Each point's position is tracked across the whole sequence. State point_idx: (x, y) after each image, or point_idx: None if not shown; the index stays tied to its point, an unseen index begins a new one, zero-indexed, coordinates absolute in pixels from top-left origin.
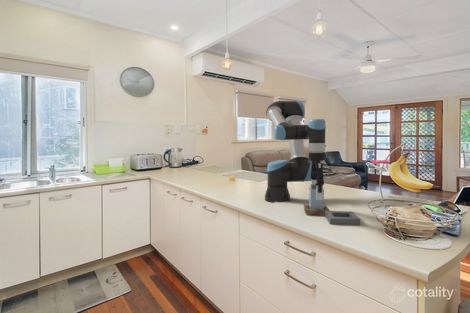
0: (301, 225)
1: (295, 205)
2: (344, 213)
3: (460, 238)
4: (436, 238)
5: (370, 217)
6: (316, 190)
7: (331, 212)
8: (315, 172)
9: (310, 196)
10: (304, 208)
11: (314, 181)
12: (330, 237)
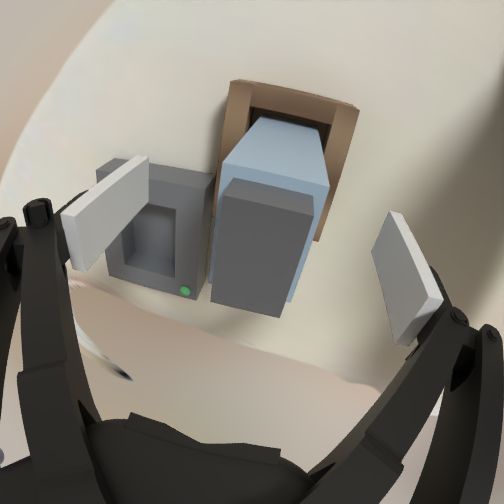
0: (116, 32)
1: (464, 109)
2: (176, 262)
3: (110, 370)
4: (97, 346)
5: (217, 332)
6: (98, 187)
7: (178, 211)
8: (41, 366)
9: (256, 141)
10: (334, 101)
11: (406, 310)
12: (33, 127)
